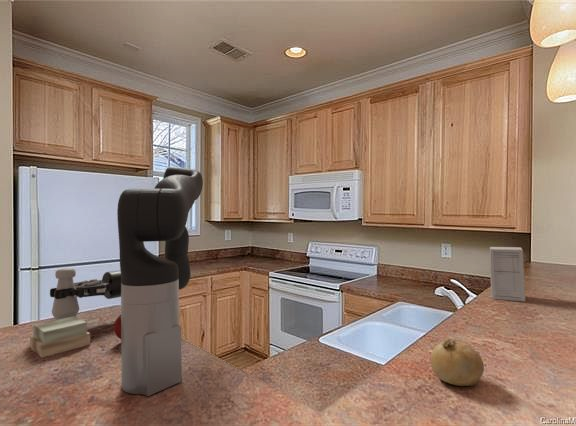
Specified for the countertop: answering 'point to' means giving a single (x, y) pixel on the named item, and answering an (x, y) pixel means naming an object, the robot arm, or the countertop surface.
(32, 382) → the countertop surface
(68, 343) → the brick base
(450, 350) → the onion
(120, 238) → the robot arm
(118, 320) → the onion
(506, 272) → the supplement box
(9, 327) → the countertop surface
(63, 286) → the salt shaker
